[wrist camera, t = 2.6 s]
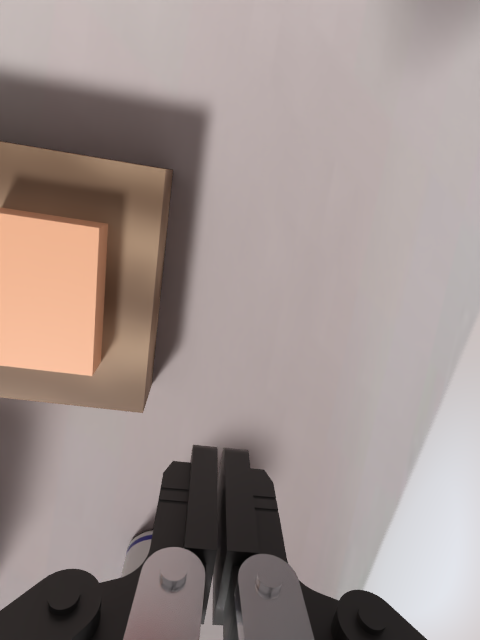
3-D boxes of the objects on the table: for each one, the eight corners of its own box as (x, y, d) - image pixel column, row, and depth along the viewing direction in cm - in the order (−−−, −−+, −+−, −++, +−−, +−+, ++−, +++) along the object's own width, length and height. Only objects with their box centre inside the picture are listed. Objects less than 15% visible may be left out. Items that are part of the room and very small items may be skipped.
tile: (1, 207, 24) (-18, 210, 22) (108, 223, 24) (99, 227, 22) (5, 350, 27) (-11, 364, 25) (101, 362, 27) (92, 376, 25)
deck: (-53, 132, 26) (-99, 125, 22) (172, 169, 27) (165, 169, 23) (-37, 363, 31) (-73, 389, 27) (151, 384, 32) (142, 412, 29)
